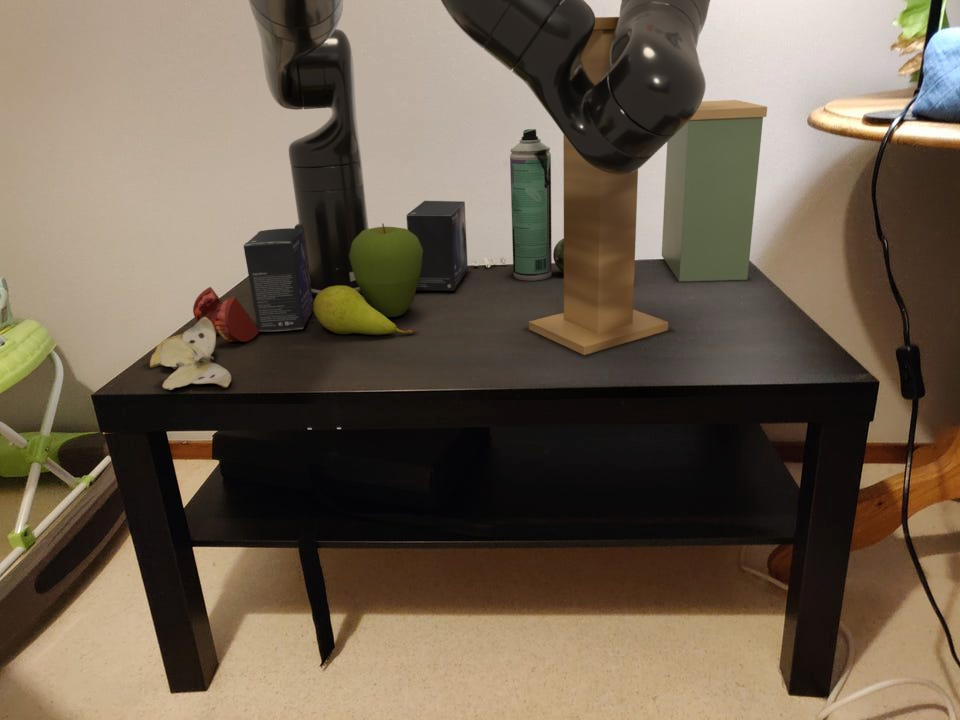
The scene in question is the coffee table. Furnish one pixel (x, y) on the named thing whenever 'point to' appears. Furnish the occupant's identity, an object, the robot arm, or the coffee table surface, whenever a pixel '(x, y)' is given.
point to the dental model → (225, 316)
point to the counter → (712, 191)
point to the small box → (440, 243)
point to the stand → (598, 242)
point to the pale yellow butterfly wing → (156, 356)
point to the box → (279, 279)
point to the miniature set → (488, 262)
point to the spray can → (531, 208)
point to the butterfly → (193, 358)
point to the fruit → (350, 313)
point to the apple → (387, 268)
